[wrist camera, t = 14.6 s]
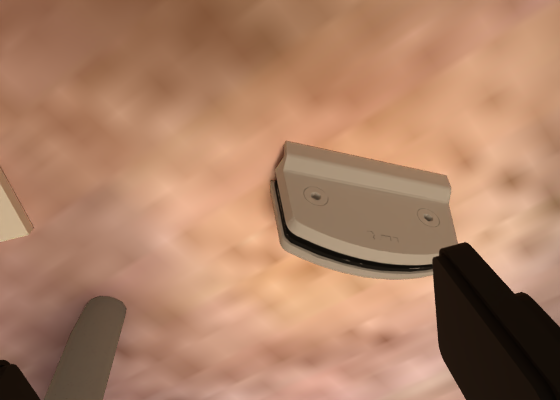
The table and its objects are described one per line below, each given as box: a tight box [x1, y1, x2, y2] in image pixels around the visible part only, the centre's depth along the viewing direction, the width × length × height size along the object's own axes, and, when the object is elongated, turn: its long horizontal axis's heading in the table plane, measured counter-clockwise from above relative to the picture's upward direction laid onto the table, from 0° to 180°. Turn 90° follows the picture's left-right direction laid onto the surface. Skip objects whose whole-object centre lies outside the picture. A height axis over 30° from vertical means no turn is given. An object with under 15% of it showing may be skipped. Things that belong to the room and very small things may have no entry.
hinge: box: [270, 141, 458, 280], centre depth 40 cm, size 17×5×10 cm, turn 75°
